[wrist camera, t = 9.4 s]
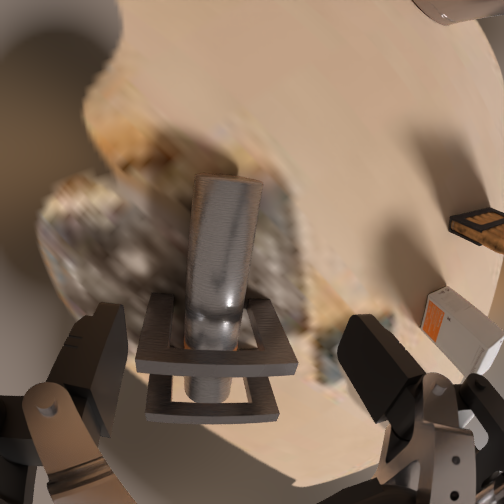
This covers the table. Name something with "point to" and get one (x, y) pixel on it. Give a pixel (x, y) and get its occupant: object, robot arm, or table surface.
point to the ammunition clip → (480, 228)
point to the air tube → (218, 271)
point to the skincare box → (461, 331)
